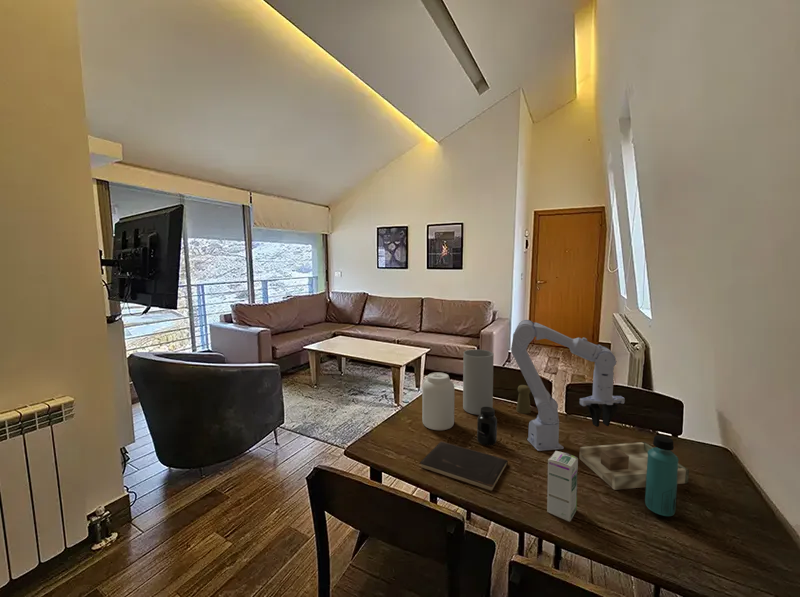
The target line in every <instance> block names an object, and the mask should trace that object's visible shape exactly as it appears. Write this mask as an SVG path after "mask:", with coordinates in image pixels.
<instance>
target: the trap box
mask: <svg viewBox="0 0 800 597" xmlns="http://www.w3.org/2000/svg"><path fill="white" fill-rule="evenodd" d="M652 448H654V446H652V445H650V444H649V443H646V442H645V441H641V442H628V443H616V444H603V445H601V444H600V445H589V446H580V447H579V456H578V457H579V458H578V460H579V461H581V462H583V464H584V465H586V466H587V467H588V468H589V469H590V470H592V471H593V472H594V473H595V474H596V475H597V476H598V477H599V478H600V479H602V481H604V482H605V483H606V484H607V485H609V487H611V488H612V489H613V490H614V491H615V490H616V491H618V490H628V489H636V488H637V489H638V488H640V489H641V488H646V485H645V484H646V479H645V478H646V474H647V471H646V470H647V460H648V450H650V449H652ZM618 449H619V450H621V451H622V452H624V453H625V454H626V455H628V456H629V464H628V469H622V470H611V471H610V470H608V469H607V468H606V467H605V466H604V465H602V464H601V451H605V450H618ZM689 474H690V469H689V468H687V467H685V466H683V465H682V464H681V463H679V462H678V471H677V476H678V477H677V485H682V484H688V483H689V477H690V476H689Z"/></svg>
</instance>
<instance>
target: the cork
mask: <svg viewBox="0 0 800 597" xmlns="http://www.w3.org/2000/svg"><path fill="white" fill-rule="evenodd" d="M517 392H518V397H517V402H516V407H515V408H516V409H515V410H516V412H517V413H520V414H525V415H527V414H531V412H532V408H531V401H530V400H531V399H530V398H531V397H530V394H531V390H530V388H529V386H528V384H527V385H526V384H520V385H518V387H517Z"/></svg>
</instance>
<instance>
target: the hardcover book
mask: <svg viewBox="0 0 800 597" xmlns="http://www.w3.org/2000/svg"><path fill="white" fill-rule="evenodd" d="M508 461H509V460H508V459H506V458H502V457H499V456H495V455H491V454H489V453H485V452H481V451H478V450H473V449H470V448H466V447H463V446H460V445H457V444H456V445H455V444H452V443H449V442H447V441H446V442H445V441H443V440H441V441H439V442H438V443H437V445H435V447H433V449H431V451H430V452H429V453H427V455H426V456H425V457H423V458H422V460H421V461H420V462H419V464H420V466H421V468H422V469H425V470H429V471H432V472H434V473H437V474H440V475H443V476H446V477H449V478H452V479H456V480H459V481H462V482H464V483H466V484H467V483H468V484H470V485H473V486H477V487H479V488H482V489H485V490H487V491H493V490H494V488H495V486H496V484H497V483H498V480H499V479H500V476H502V474H503V471H504V470H505V468H506V466H507V465H508Z"/></svg>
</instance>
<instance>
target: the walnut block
mask: <svg viewBox="0 0 800 597" xmlns="http://www.w3.org/2000/svg"><path fill="white" fill-rule="evenodd" d="M601 464H602V465H604V466H605V467H606V468H607V469H608V470H610V471H611V470H622V469H628V464H629V456H628V455H626V454H625V453H624V452H622V451H621V450H619V449H618V450H605V451H601Z"/></svg>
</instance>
